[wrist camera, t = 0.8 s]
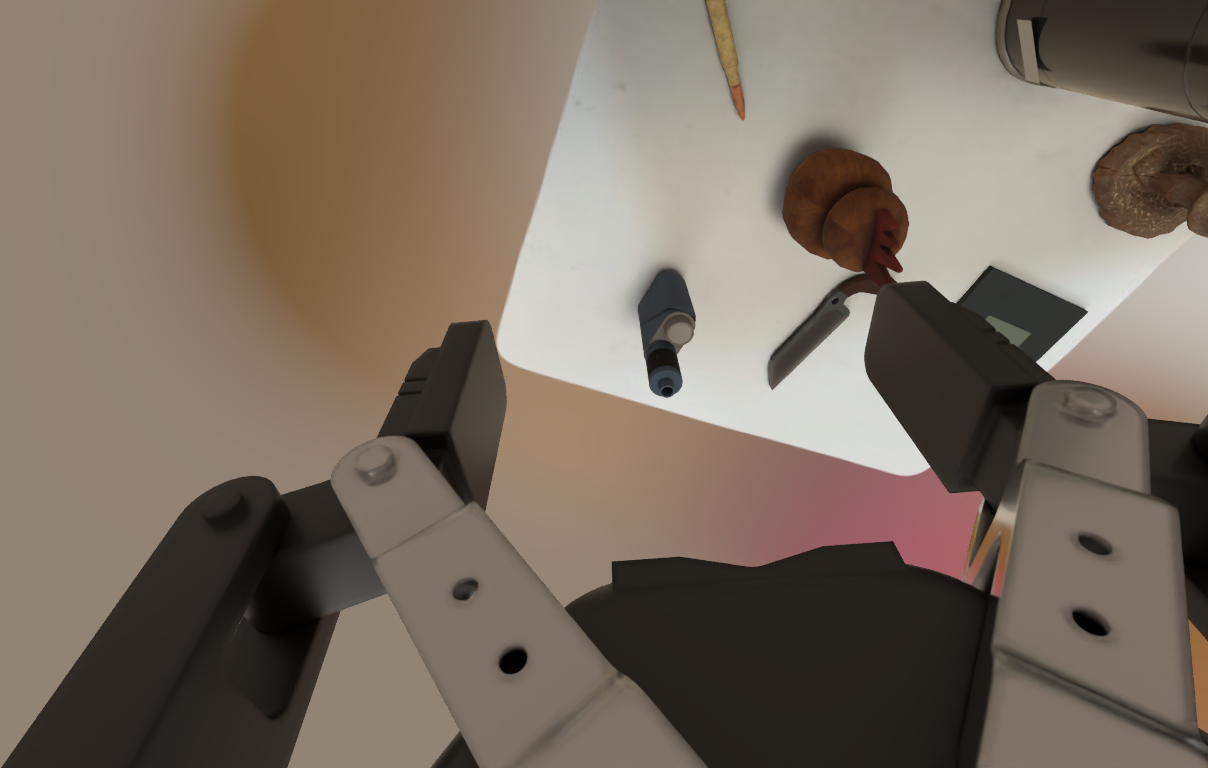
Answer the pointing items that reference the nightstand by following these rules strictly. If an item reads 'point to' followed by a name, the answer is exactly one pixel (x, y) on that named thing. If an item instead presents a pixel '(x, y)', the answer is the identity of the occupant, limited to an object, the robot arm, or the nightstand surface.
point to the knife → (817, 328)
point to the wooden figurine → (847, 212)
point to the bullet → (726, 50)
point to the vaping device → (665, 330)
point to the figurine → (1156, 181)
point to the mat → (1021, 311)
